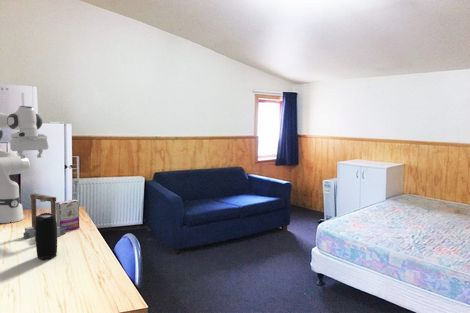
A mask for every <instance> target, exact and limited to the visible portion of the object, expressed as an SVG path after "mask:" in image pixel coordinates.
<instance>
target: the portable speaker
mask: <svg viewBox="0 0 470 313" xmlns="http://www.w3.org/2000/svg"><path fill="white" fill-rule="evenodd" d="M35 231H36V242H35V248H36V256H37V258H38V259H40V261H48V260H51V259H52V258H53V257H57V254H58V237H57V222H56V214H51V212H44V213H43V212H42V213H40V214H38V215H36V228H35Z"/></svg>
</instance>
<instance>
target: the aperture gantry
mask: <svg viewBox="0 0 470 313" xmlns="http://www.w3.org/2000/svg"><path fill="white" fill-rule="evenodd" d="M29 195H30V196H29V197H30V203H31V205H30V207H31V208H30V210H31V211H30V212H31V227H34V230H35V228H36V216H37V200H39V202H40V203H44V202H48V203H49V202H50V213H51V214H56V203H57V197H56V196H52V195H51V196H50V195H45V194H39V193H30V194H29Z"/></svg>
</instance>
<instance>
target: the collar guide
mask: <svg viewBox="0 0 470 313" xmlns="http://www.w3.org/2000/svg"><path fill="white" fill-rule="evenodd" d="M64 235H66V232H65V229H64V228H61V229H60V227H57V238H59V237H61V236H64ZM32 238H34V242H35V243H36V231H35V230H34V227H32V226H27V227H24V232H23V239H24V240H27V239H32Z"/></svg>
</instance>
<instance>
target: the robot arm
mask: <svg viewBox="0 0 470 313" xmlns="http://www.w3.org/2000/svg"><path fill="white" fill-rule="evenodd" d="M42 125H43V119H42V117H41V116H40V115H39V114H38V113H36V110H35V108H34V107H33V106H27V105H20V106H18V108H17V110H16V111H15V112H13V113H9V114H8V113H4V112H0V140H1V139H2V138H3V136H4V135H3V134H4V132H3V131H4V130H3V129H9V128H10V129H11V130H16V131H17V132H14V133H11V134H10V138H11V139H10V143H9V144H10V145H9V147H10V148H9V149H10V151H12V152H17V153H18V155H16V154H15V153H11V152H8V151H5V149H2V148H1V147H0V224H9V223H10V222H11V223H17V222H20V221H23V220H24V218H26V215H25V214H24V211H23V204H21V196H20V186H19V184H18V183H17V181H14V180H11V178H10V175H11V176H12V175H19V174H23V173H26V172H28V171H29V169H30V168H31V163H30V160H29V159H28V157H26V155H24V154H23V152H24V151H38V154H36V158H37V159H40V158H42V154H43V152H44V151H45V150H48V149H49V142H48V136H47V135H46V134H44V133H38V130H39V129H40V128H41V127H42ZM43 150H44V151H43Z"/></svg>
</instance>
